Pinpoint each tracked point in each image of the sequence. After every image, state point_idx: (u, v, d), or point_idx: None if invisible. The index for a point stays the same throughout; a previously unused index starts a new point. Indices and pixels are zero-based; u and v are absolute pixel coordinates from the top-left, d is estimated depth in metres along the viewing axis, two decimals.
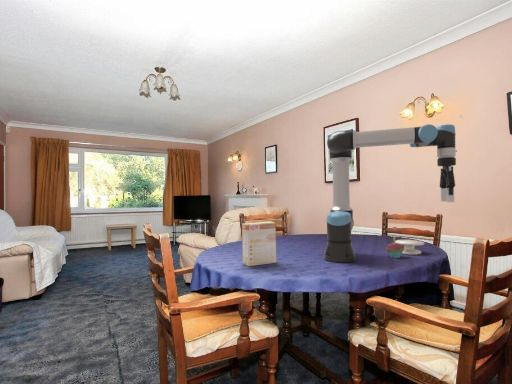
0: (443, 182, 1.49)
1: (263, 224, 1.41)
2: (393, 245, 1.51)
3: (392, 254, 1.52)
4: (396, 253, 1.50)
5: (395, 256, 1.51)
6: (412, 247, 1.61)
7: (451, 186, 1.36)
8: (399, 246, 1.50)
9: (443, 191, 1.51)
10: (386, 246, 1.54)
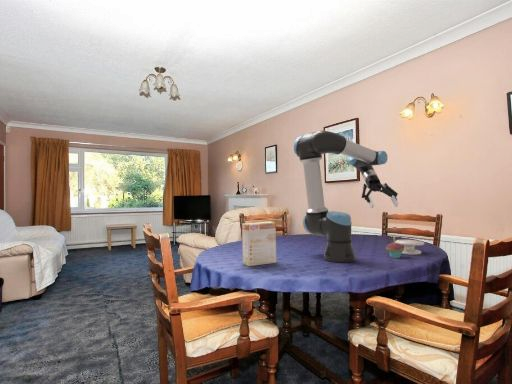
0: None
1: (263, 224, 1.41)
2: (393, 245, 1.51)
3: (392, 254, 1.52)
4: (396, 253, 1.50)
5: (395, 256, 1.51)
6: (412, 247, 1.61)
7: (396, 195, 1.69)
8: (399, 246, 1.50)
9: None
10: (386, 246, 1.54)
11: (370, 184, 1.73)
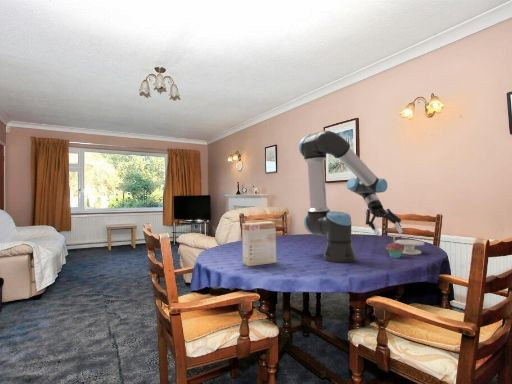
0: None
1: (263, 224, 1.41)
2: (393, 245, 1.51)
3: (392, 254, 1.52)
4: (396, 253, 1.50)
5: (395, 256, 1.51)
6: (412, 247, 1.61)
7: (399, 222, 1.67)
8: (399, 246, 1.50)
9: None
10: (386, 246, 1.54)
11: (373, 210, 1.70)
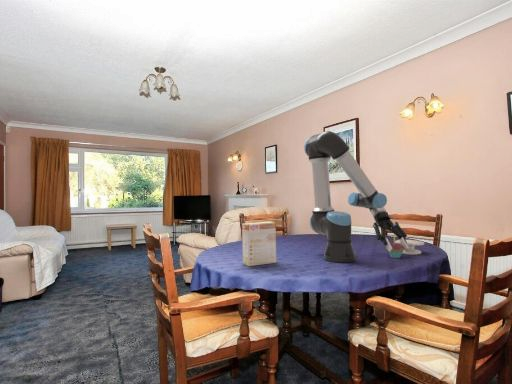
0: None
1: (263, 224, 1.41)
2: (393, 245, 1.51)
3: (392, 254, 1.52)
4: (396, 253, 1.50)
5: (395, 256, 1.51)
6: (412, 247, 1.61)
7: (405, 237, 1.56)
8: (399, 246, 1.50)
9: None
10: None
11: (380, 222, 1.61)
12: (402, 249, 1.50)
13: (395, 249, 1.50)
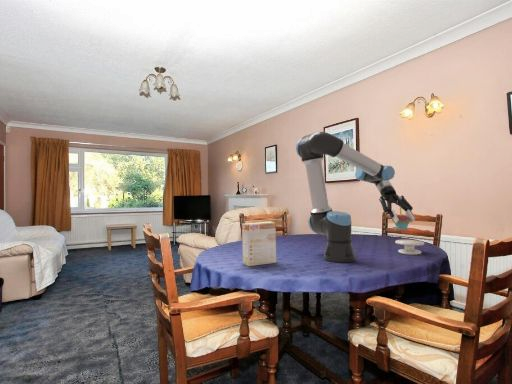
0: None
1: (263, 224, 1.41)
2: (399, 217, 1.55)
3: (398, 225, 1.55)
4: (402, 224, 1.54)
5: (401, 227, 1.55)
6: (412, 247, 1.61)
7: None
8: (405, 217, 1.54)
9: None
10: None
11: (386, 195, 1.65)
12: (408, 220, 1.54)
13: (401, 220, 1.53)
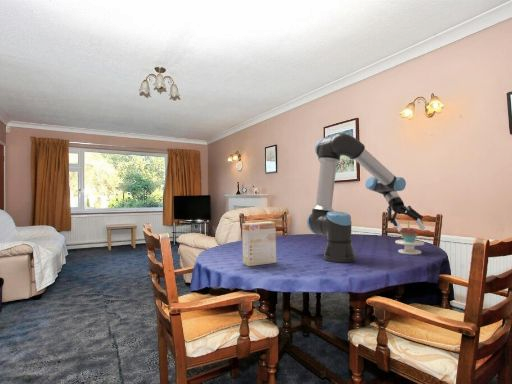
0: (395, 216, 1.67)
1: (263, 224, 1.41)
2: (407, 230, 1.61)
3: (406, 239, 1.62)
4: (410, 238, 1.61)
5: (409, 240, 1.61)
6: (412, 247, 1.61)
7: (421, 218, 1.68)
8: (413, 231, 1.60)
9: None
10: (400, 231, 1.65)
11: (394, 206, 1.71)
12: (416, 234, 1.60)
13: (409, 234, 1.60)
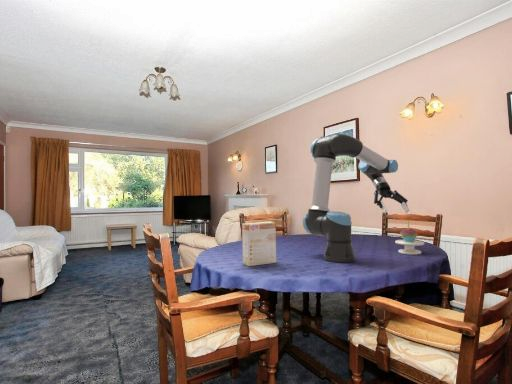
0: None
1: (263, 224, 1.41)
2: (407, 230, 1.61)
3: (406, 239, 1.62)
4: (410, 238, 1.61)
5: (409, 240, 1.61)
6: (412, 247, 1.61)
7: (406, 202, 1.77)
8: (413, 231, 1.60)
9: None
10: (400, 231, 1.65)
11: (381, 191, 1.81)
12: (416, 234, 1.60)
13: (409, 234, 1.60)
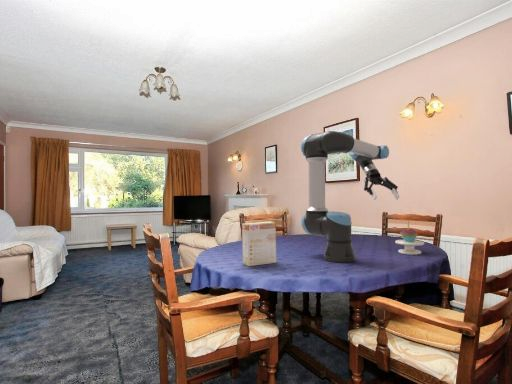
0: None
1: (263, 224, 1.41)
2: (407, 230, 1.61)
3: (406, 239, 1.62)
4: (410, 238, 1.61)
5: (409, 240, 1.61)
6: (412, 247, 1.61)
7: (396, 188, 1.76)
8: (413, 231, 1.60)
9: None
10: (400, 231, 1.65)
11: (371, 178, 1.79)
12: (416, 234, 1.60)
13: (409, 234, 1.60)
